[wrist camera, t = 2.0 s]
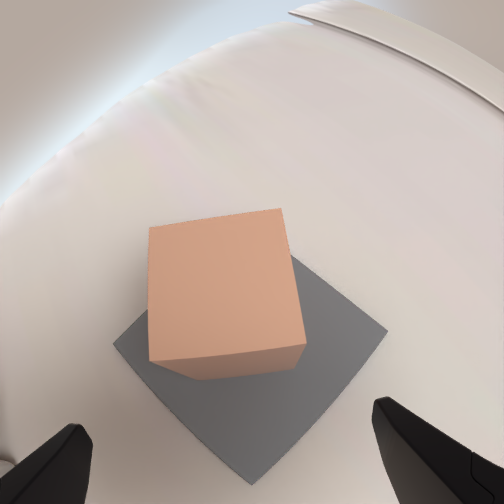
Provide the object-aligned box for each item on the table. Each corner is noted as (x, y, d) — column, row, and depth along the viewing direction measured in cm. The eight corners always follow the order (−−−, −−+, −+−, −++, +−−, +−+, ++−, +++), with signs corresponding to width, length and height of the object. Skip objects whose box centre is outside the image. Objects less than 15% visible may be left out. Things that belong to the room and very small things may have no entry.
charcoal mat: (252, 484, 17) (251, 485, 17) (115, 344, 22) (112, 343, 22) (386, 332, 21) (388, 331, 21) (243, 220, 26) (243, 218, 26)
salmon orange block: (293, 369, 20) (306, 343, 12) (197, 380, 20) (149, 361, 12) (279, 280, 23) (280, 208, 15) (191, 292, 23) (149, 227, 15)
